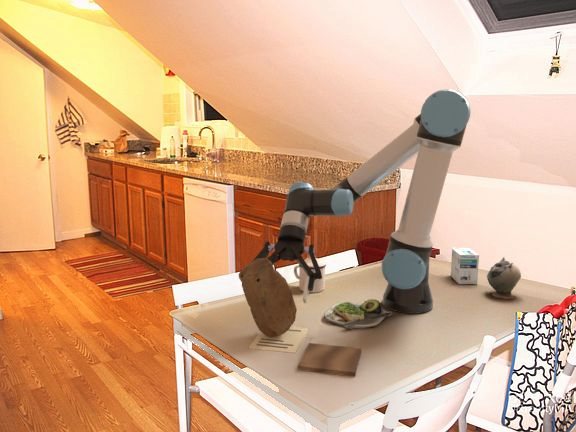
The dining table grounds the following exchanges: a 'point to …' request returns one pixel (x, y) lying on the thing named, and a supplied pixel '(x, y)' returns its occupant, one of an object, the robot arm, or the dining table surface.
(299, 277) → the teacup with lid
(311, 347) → the plate
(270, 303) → the brown tall rough part
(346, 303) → the salad plate
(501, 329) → the dining table surface
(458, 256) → the light bulb box
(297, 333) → the letter
